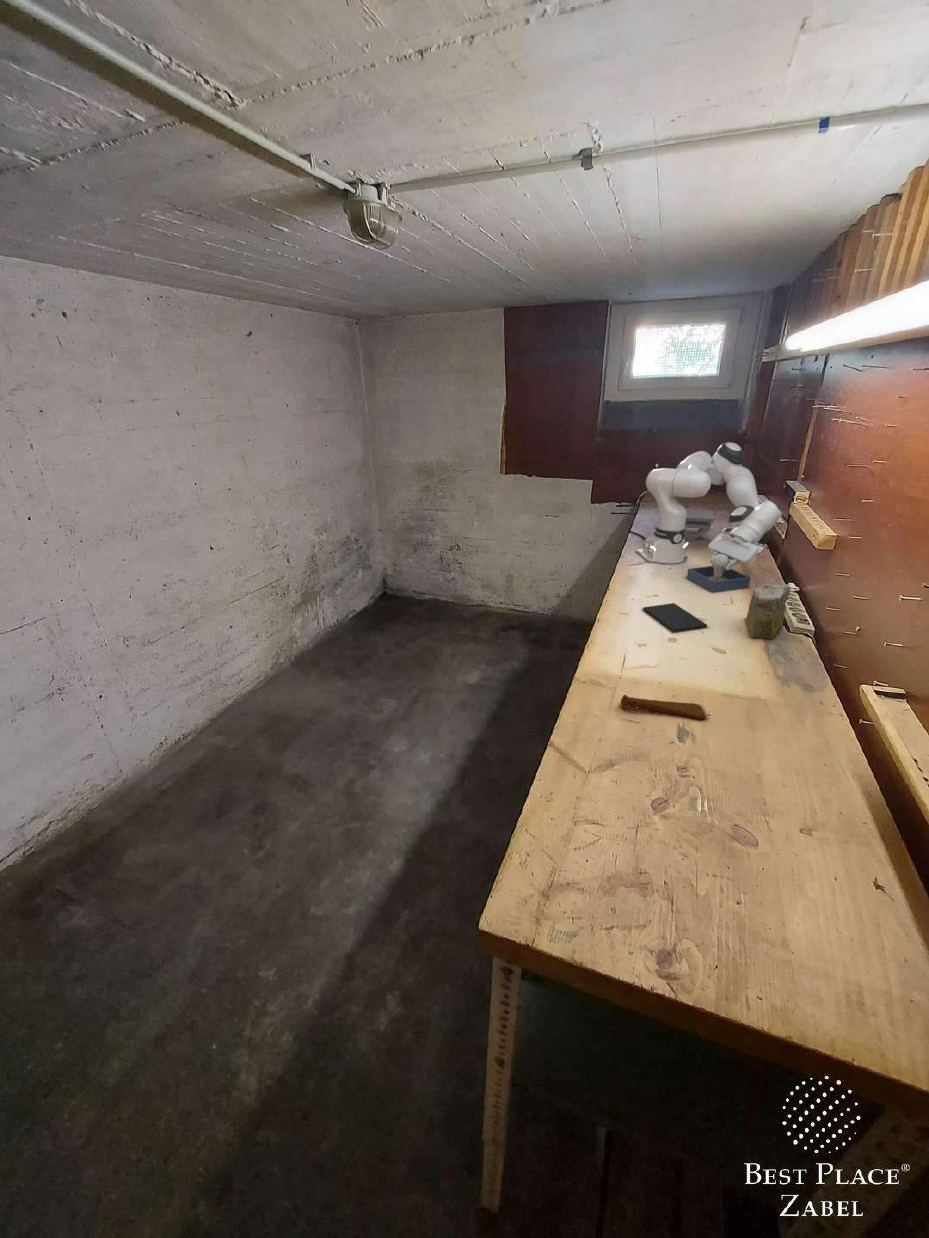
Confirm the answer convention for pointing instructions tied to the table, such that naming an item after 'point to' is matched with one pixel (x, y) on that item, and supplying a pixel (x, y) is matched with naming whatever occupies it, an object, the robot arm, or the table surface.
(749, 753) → the table surface
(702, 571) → the blue square tray
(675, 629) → the mat
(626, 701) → the primitive tool
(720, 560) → the lightbulb
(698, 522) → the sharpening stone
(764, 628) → the stone block
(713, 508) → the table surface
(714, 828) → the table surface
